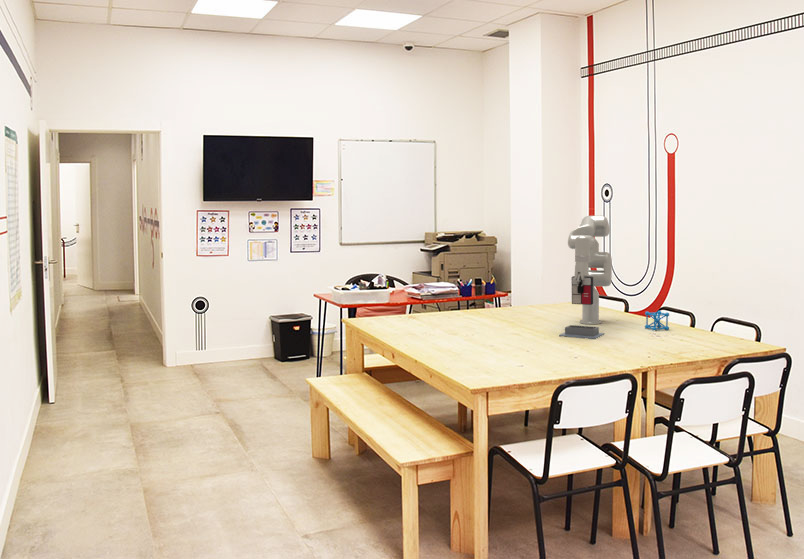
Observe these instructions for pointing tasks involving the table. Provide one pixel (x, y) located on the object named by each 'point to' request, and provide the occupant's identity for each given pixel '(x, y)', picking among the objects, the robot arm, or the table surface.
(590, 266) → the robot arm
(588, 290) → the multicoloured piece
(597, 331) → the desk holder
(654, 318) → the molecular structure
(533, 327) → the table surface
